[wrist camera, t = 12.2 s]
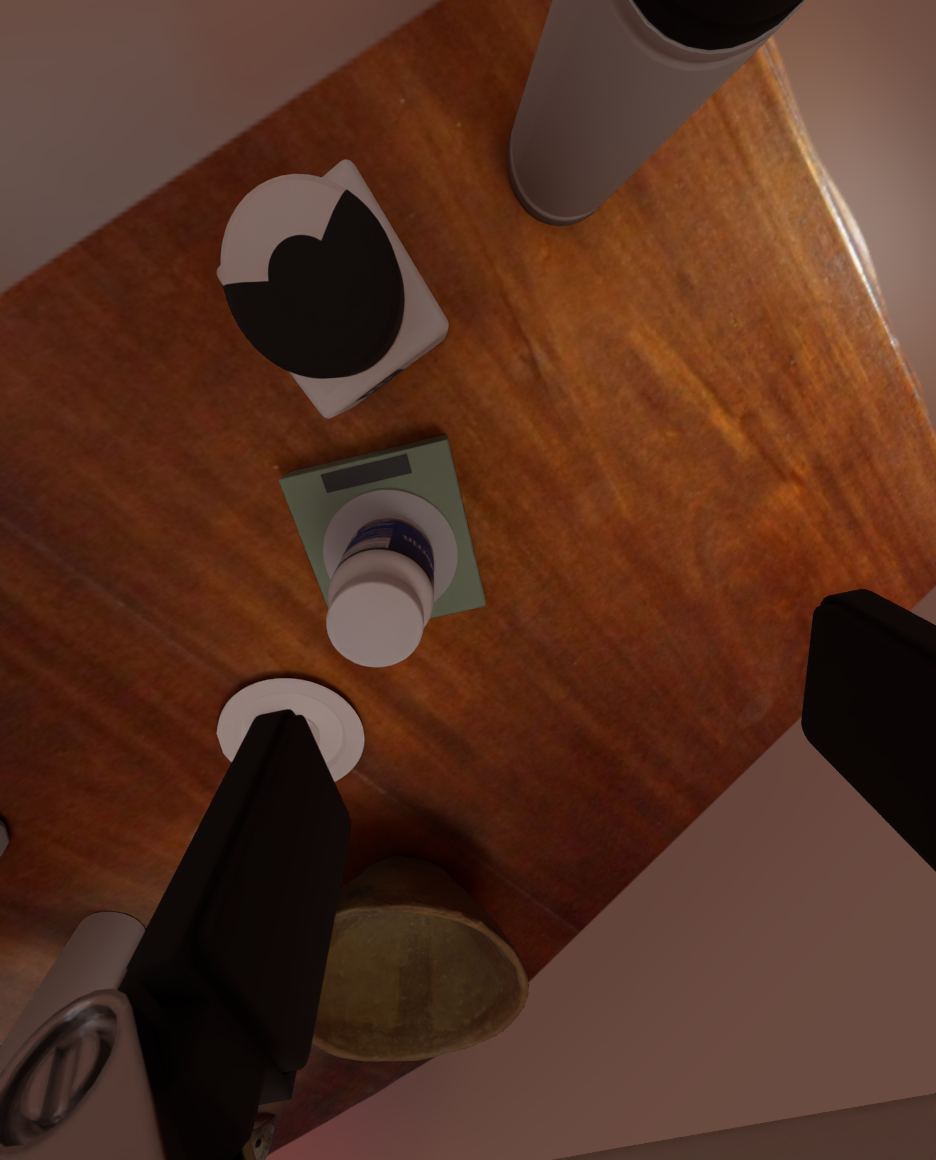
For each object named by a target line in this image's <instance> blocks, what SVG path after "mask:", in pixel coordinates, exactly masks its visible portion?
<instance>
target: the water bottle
mask: <svg viewBox="0 0 936 1160" xmlns="http://www.w3.org/2000/svg"><path fill="white" fill-rule="evenodd" d="M8 843H9V835H8V832H7V829H6V826H5V824H4V823H3V822H2V821H1V820H0V856H1V855H2V854H3V852H4V850H5V848H6V847H7V845H8Z"/></svg>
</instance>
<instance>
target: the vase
mask: <svg viewBox="0 0 936 1160" xmlns="http://www.w3.org/2000/svg"><path fill="white" fill-rule="evenodd" d="M144 932H145V928H144V927H143V925H142V924H141V923H140V922H139V921H138V920H136V919H135V918H133V917H131V916H128V915H126V914H122V913H117V912H99V913H94V914H91V915H89V916H87V917H85V918H84V919H83V920H82V921H81V922H80V924H79V925H78V927H77V929H76V930H75V932H74V933H73V935H72V936H71V938H70V939H69V941H68V943H67V944H66V946H65V947H64V949H63V950H62V952H61V953H60V955H59V957H58V958H57V960H56V961H55V963H54V964H53V966H52V967H51V969H50V971H49V972H48V974H47V975H46V977H45V978H44V980H43V981H42V983H41V985H40V986H39V988H38V989H37V991H36V992H35V994H34V995H33V997H32V999H31V1000H30V1002H29V1003H28V1005H27V1006H26V1008H25V1009H24V1011H23V1013H22V1014H21V1016H20V1017H19V1019H18V1020H17V1022H16V1023H15V1025H14V1027H13V1028H12V1030H11V1031H10V1033H9V1034H8V1036H7V1037H6V1039H5V1041H4V1042H3V1044H2V1045H1V1047H0V1073H1V1072H2V1070H3V1069H4V1067H5V1066H6V1064H7V1063H8V1061H9V1060H10V1059H11V1057H12V1056H13V1055H14V1054H15V1053H16V1052H17V1050H18V1049H19V1048H20V1047H21V1046H22V1045H23V1043H24V1042H25V1041H26V1040H27V1039H28V1038H29V1037H30V1035H31V1034H32V1033H33V1032H34V1031H36V1030H37V1029H38V1028H39V1027H40V1026H41V1025H42V1024H43V1023H44V1022H45V1021H47V1020H48V1019H49V1018H50V1017H51V1016H52V1015H53V1014H54V1013H56V1012H57V1011H59V1010H60V1009H62V1008H63V1007H65V1006H66V1005H68V1004H69V1003H71V1002H72V1001H74V1000H75V999H77V998H79V997H81V996H84V995H86V994H89V993H91V992H93V991H96V990H103V989H115V990H118V988H119V986H120V984H121V982H122V980H123V978H124V976H125V974H126V972H127V969H126V968H127V966H128V964H129V962H130V960H131V958H132V956H133V954H134V952H135V950H136V948H137V946H138V944H139V942H140V940H141V938H142V936H143V934H144Z"/></svg>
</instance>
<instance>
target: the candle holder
mask: <svg viewBox="0 0 936 1160" xmlns="http://www.w3.org/2000/svg"><path fill="white" fill-rule="evenodd" d="M285 709H291V710H292V711H293V712H294V713H295V715H303V716H304V717H305V719H306V721H307V723H308V725H309V727H310V729H311V732H312V734H313V736H314V738H315V740H316V743H317V745H318V747H319V749H320V751H321V754H322V756H323V758H324V760H325V762H326V765H327V767H328V769H329V771H330V773H331V776H332V778H333V780H334V782H335V781H337V780H339V779H341V778H342V777H344V776H345V775H346V774H347V773H349V772H350V771H351V770H352V769H353V768H354V766H355V765H356V764H357V762H358V761H359V759H360V757H361V754H362V751H363V747H364V731H363V727H362V724H361V721H360V719H359V717H358V715H357V714H356V712H355V711H354V709H353V708H352V707H351V706H350V705H349V704H348V703H347V702H346V701H345V700H344V699H343V698H342V697H341V696H339V695H338V694H336V693H335V692H333V691H332V690H330V689H328V688H326V687H324V686H321V685H319V684H316V683H313V682H309V681H305V680H300V679H291V678H278V679H270V680H264V681H261V682H257V683H254V684H252V685H250V686H247V687H246V688H244V689H242V690H241V691H239V692H238V693H236V694H235V695H234V696H233V697H232V698H231V699H230V700H229V701H228V702H227V704H226V705H225V707H224V708H223V710H222V712H221V715H220V718H219V722H218V727H217V736H218V739H219V742H220V745H221V748H222V751H223V753H224V755H225V756H226V757H227V758H228V759H229V760H230V762H231V763H232V761H233V759H234V757H235V755H236V753H237V751H238V749H239V747H240V745H241V743H242V741H243V739H244V738H245V736H246V734H247V732H248V730H249V728H250V726H251V724H252V722H253V720H254V719H255V717H256V716H258V715H261V714H266V713H270V712H275V711H280V710H285Z"/></svg>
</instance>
